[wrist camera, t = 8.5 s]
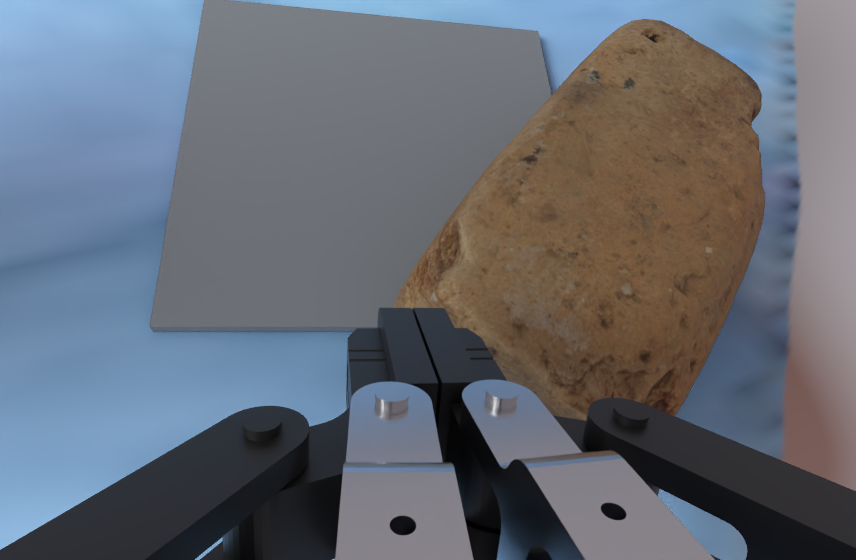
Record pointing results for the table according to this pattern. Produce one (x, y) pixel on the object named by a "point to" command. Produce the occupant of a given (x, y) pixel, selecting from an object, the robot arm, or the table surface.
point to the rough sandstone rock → (609, 227)
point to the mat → (328, 160)
